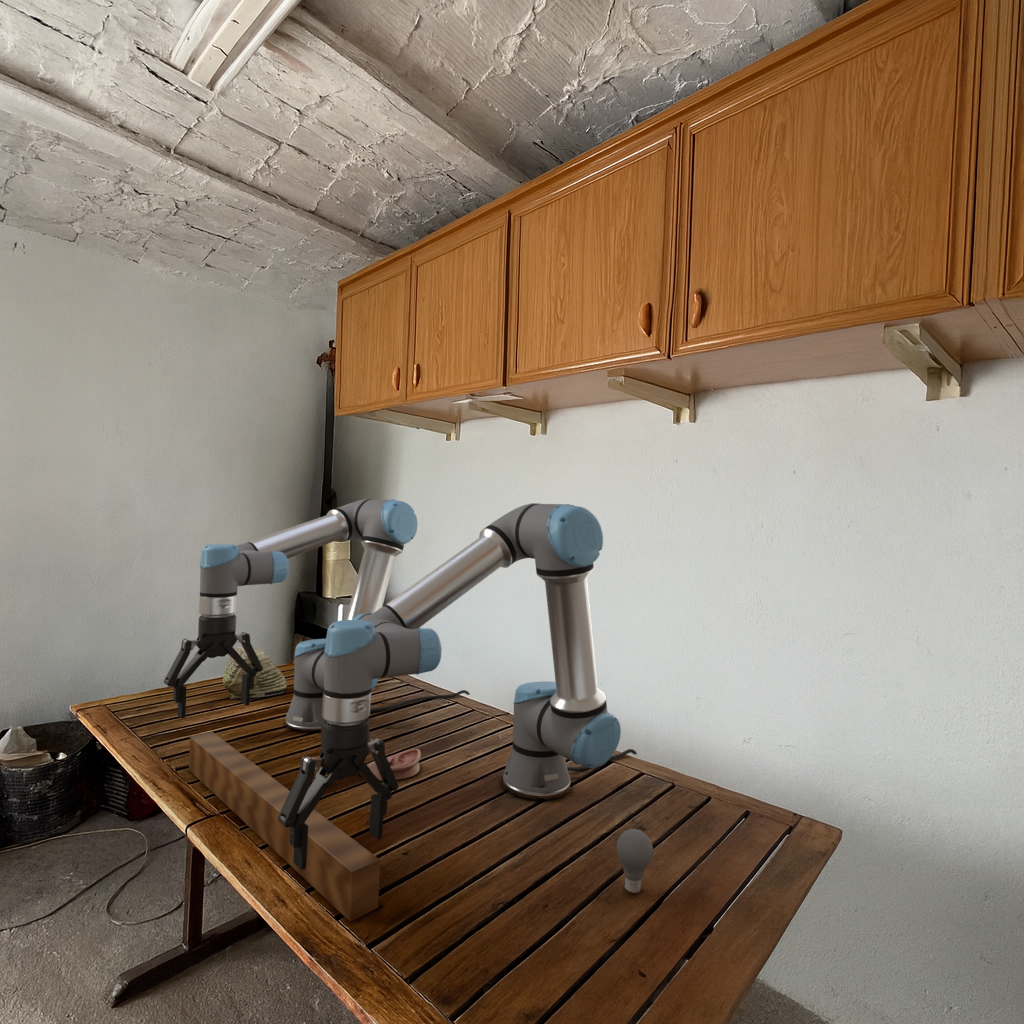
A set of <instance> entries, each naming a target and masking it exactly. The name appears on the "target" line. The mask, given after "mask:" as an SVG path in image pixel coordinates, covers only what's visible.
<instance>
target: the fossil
mask: <svg viewBox="0 0 1024 1024" xmlns="http://www.w3.org/2000/svg"><path fill="white" fill-rule="evenodd" d="M253 649H254V651H255V653H256V655H257V657H258V659H259V661H260V663H261V665H262V667H263V670H262V671H261V672H257V674H256V676H254V687H253V689H250V699H251V698H264V697H271V696H275V695H281V694H284V693H285V691H286V689H287V687H288V686H287V680H286V678H285V676H284V674H283V673H282V672H281V669H279V668H278V667H277V665H276V663H275V662H274V660H273V659H272V658H271V657H270V656H269V655H268V654H267V653H266V652H265V650H264V649H263V648H260V647H258V648H253ZM235 650H236V651H237V652H238V654H239V655H240V656H241V657H242V658H243V659H244V660H245V661H246V663H247V664H248V665H249V666H250V667H253V666H252V664H251V662H250V660H249V658H248V656H247V654H246V652H245V650H244V648H243V646H238V647H237V648H236V649H235ZM243 674H246V672H245V671H244V670H243V669H242V668H241V667H240V666H239V665H238V664H237V663H236V662H235V661H234V660H233V659H232V657H231V656H229V659H228V660H227V663H226V666H225V668H224V671H223V675H222V676H223V677H222V685H223V687H224V688H225V690H226V691H228V693H229V698H230V699H241V693H242V675H243Z"/></svg>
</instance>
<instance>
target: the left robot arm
mask: <svg viewBox="0 0 1024 1024" xmlns="http://www.w3.org/2000/svg"><path fill="white" fill-rule="evenodd" d="M418 525H419V523H418V518H417V514H416V513H415V510H414V508H413V507H412V506H411V505H410V504H408V503H407V502H405V501H402V500H396V499H378V498H377V499H375V498H365V499H364V498H363V499H360V500H356V501H352V502H350V503H347V504H344V505H342V506H339V507H336V508H333V509H330V510H329V511H328V512H327V513H326V515H323V516H320V517H317V518H315V519H311V520H308V521H305V522H303V523H300V524H297V525H294V526H291V527H287V528H285V529H282V530H279V531H276V532H273V533H269V534H268V535H263V536H262V537H259V538H255V539H253V540H249V541H246V542H244V543H240V544H231V543H212V544H206V545H204V546H203V547H202V549H201V555H200V564H199V567H200V569H199V570H200V573H199V575H200V576H199V599H198V600H199V601H198V613H199V614H200V615H199V617H198V625H197V626H198V629H197V633H198V634H197V638H196V639H187V638H183V639H182V640H181V645H180V650H179V652H178V654H177V655H176V657H175V659H174V661H173V663H172V665H171V667H170V668H169V670H168V672H167V674H166V676H165V677H164V680H163V684H165V685H166V686H168V687H172V688H173V695H172V696H173V698H172V700H173V702H174V703H176V704H177V713H176V714H177V716H178V717H179V718H180V719H186V716H187V715H186V714H187V686H185V684H186V683H187V681H188V680H189V679H190V678H191V677H192V675H193V674H194V673H195V672H196V670H198V668H199V667H200V666H201V664H202V663H204V662H205V661H206V660H207V658H209V659H215V658H217V657H222V658H223V657H226V656H227V655H229V657H232V659H233V660H234V661H235V662H236V663H237V664H238V665H239V666H240V667H241V668H242V669H243V670H244V671H245V672H246V674H243V675H242V693H241V698H240V703H241V704H242V705H243V706H245V707H246V706H250V701H251V700H250V699H251V698H250V689H253V687H254V676H256V674H257V672H261V671H262V670H263V667H262V665H261V663H260V661H259V659H258V657H257V655H256V653H255V651H254V649H255V648H254V647H253V645H252V643H251V635H250V633H248V632H245V631H241V632H240V633H239V634H236V630H237V615H236V614H235V613H236V612H237V603H238V602H237V601H238V588H239V587H244V586H254V585H255V586H256V585H272V584H279V583H282V582H284V581H285V580H286V579H287V577H288V576H289V572H290V562H289V559H291V558H294V557H295V556H299V555H301V554H304V553H306V552H309V551H313V550H315V549H318V548H320V547H323V546H325V545H328V544H331V543H333V542H338V543H345V542H346V541H349V540H356V539H357V540H358V539H359V540H360V543H361V546H362V547H363V549H364V551H363V553H362V558H361V562H360V565H359V569H358V572H357V577H356V581H355V584H354V587H353V591H352V594H351V598H350V602H349V606H348V609H347V613H346V616H345V620H352V619H353V618H354V617H355V616H357V615H359V614H363V613H372V614H373V613H374V612H376V611H377V610H378V609H380V608H381V607H383V606H384V602H385V598H386V595H387V591H388V587H389V582H390V579H391V575H392V571H393V568H394V563H395V560H396V557H397V556H400V554H402V553H403V551H404V547H405V544H408V543H410V542H411V541H412V540H414V538H415V537H416V534H417V532H418V527H419V526H418ZM237 642H238V643H240V644H241V647H243V648H244V650H245V652H246V654H247V656H248V658H249V660H250V662H251V664H252V666H253V667H250V666H249V665H248V664H247V663H246V661H245V660H244V659H243V658H242V657H241V656H240V655H239V654H238V652H237V651H236V649H235V648H234V646H235V645H236V643H237ZM325 645H326V638H317V639H308V640H304V641H300V642H299V643H297V645H296V646H295V650H294V655H293V657H294V672H293V673H294V674H293V695H292V696H293V697H292V699H291V702H290V704H289V708H288V711H287V713H286V715H285V726H286V728H287V729H289V730H291V731H294V732H295V731H296V732H301V733H316V732H321V726H322V721H323V720H324V718H323V717H322V706H323V692H324V670H325V654H324V650H325ZM195 647H197V648H198V650H197V651H196V652H195V654H194V656H193V657H192V659H191V660H190V661H189V662H188V663H187V664H186V662H187V660H188V657H189V656H190V654H191V651H193V650H194V649H195ZM185 664H186V666H185ZM184 666H185V667H184ZM183 667H184V668H183ZM379 679H380V678H378V679H373V680H372V691H373V690H374V689H375V687H376V686H377V684H378V682H379ZM462 694H466V695H467V696H469V695H471V693H470V692H469V691H468V690H465V689H462V690H460V691H457V692H455V693H451V694H438V695H437V694H436V695H427V696H421V697H420V696H419V697H415V698H411V699H407V700H403V701H400V702H398V703H395V704H392V705H387V706H381V707H375V708H370V713H375V712H381V711H386V710H390V709H391V710H392V709H396V708H398V707H402V706H404V705H406V704H407V705H408V704H410V703H415V702H420V701H427V700H433V699H435V700H436V699H449V698H455V697H458V696H459V695H462Z"/></svg>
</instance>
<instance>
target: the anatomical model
mask: <svg viewBox="0 0 1024 1024" xmlns="http://www.w3.org/2000/svg"><path fill="white" fill-rule="evenodd" d="M421 756H422V754H421V750H420V749H419V748H412V749H408V750H404V751H402V752H398V753H396V754H393V755H391V756H388V757H387V760H388V762H389V764H390V767H391V769H392V771H393V774H394V776H395V778H396V781H397V780H403V779H407V778H410V777H413V776H415V775H417V774H418V773H419V771H420V768H421V766H420V763H419V762H420V760H421ZM366 765H367V766H368V767H369V768H370V769H371V771H372V772H373V774H374V775H375V776H376V777H377V778H378V779H379V780H380V782H383V780H382V777H381V775H380V773H379V770H378V768H377V766H376V763H375V761H374V760H373V761H371V762H369V763H367V764H366Z"/></svg>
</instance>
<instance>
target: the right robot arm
mask: <svg viewBox="0 0 1024 1024" xmlns="http://www.w3.org/2000/svg"><path fill="white" fill-rule="evenodd" d="M603 546H604V534H603V530H602V525H601V523H600V522H599V519H598V518H597V517H596V515H595V514H594V513H593V512H592V511H590V509H587V508H585V507H582V506H578V505H574V504H569V503H539V502H538V503H537V502H536V503H535V502H534V503H527V504H523V505H520V506H518V507H516V508H514V509H511V511H508V512H506V513H505V514H503V515H502V516H500V517H498V518H497V519H496V520H494V521H493V522H491V523H490V524H488V525H487V526H485V527H484V528H483V529H481V530H480V531H479V537H478V538H477V539H475V540H474V541H473V542H471V543H470V544H469V545H467V546H466V547H464V548H463V549H461V550H460V551H458V552H457V553H456V554H454V555H453V556H452V557H450V558H449V559H447V560H446V561H444V562H443V563H441V564H440V565H438V567H436V568H435V569H433V570H432V571H431V572H429V573H428V574H426V575H425V576H423V577H422V578H421V579H419V580H418V581H417V582H415V583H414V584H412V585H411V586H409V587H408V588H407V589H405V590H404V591H402V592H401V593H399V594H398V595H397V596H395V597H394V598H392V599H391V600H390V601H389V602H387V603H385V604H383V606H382V607H381V608H380V609H378V610H377V611H376V612H374V613H373V614H372V613H363V614H359V615H357V616H355V617H354V618H353V619H352V620H346V619H341V620H337V621H334V622H332V623H331V624H330V625H329V626H328V628H327V631H326V637H325V639H326V645H325V650H324V654H325V670H324V692H323V706H322V717H323V718H324V720H323V721H322V726H321V731H320V747H321V750H320V753H319V755H318V756H311V757H310V756H308V755H307V754H306V755H303V756H302V757H301V759H300V763H299V764H300V765H299V771H298V773H297V775H296V777H295V779H294V782H293V784H292V786H291V788H290V790H289V791H290V792H289V794H288V797H287V799H286V801H285V803H284V805H283V807H282V810H281V812H280V814H279V816H278V821H279V822H281V823H282V824H283V825H284V826H285V827H287V828H289V827H290V838H289V842H290V845H291V846H292V847H294V856H293V863H294V864H295V865H296V866H298V867H299V868H300V869H301V870H303V869H306V862H307V842H308V825H307V824H305V821H306V820H307V818H308V817H309V815H310V814H311V812H312V811H313V809H314V810H315V808H316V806H317V805H318V803H319V802H320V800H321V799H322V797H323V796H324V794H325V793H326V792H327V790H328V788H330V787H332V786H333V785H334V783H335V782H336V781H338V782H339V781H342V780H344V779H346V778H351V777H354V776H356V774H357V773H358V774H359V775H360V776H361V777H362V778H363V780H364V781H365V782H366V783H367V784H368V785H369V786H370V787H371V788H372V790H373V791H374V792H375V793H374V794H371V795H370V814H369V831H368V832H369V834H370V835H371V836H372V837H374V838H375V839H377V840H378V841H379V840H381V839H383V831H384V830H383V829H384V816H386V815H387V812H388V800H391V799H392V797H393V793H392V792H396V791H398V789H399V783H398V781H397V780H396V778H395V776H394V774H393V771H392V769H391V767H390V764H389V762H388V760H387V758H388V757H387V755H386V746H385V742H384V741H383V740H381V739H379V738H377V737H372V738H371V739H370V727H371V720H370V719H369V717H370V716H371V712H370V709H371V705H372V691H373V690H372V680H373V679H378V678H379V679H386V678H393V677H403V676H411V675H416V676H417V675H420V674H424V673H428V672H433V671H435V670H436V669H437V668H438V667H439V665H440V663H441V659H442V649H443V648H442V643H441V639H440V637H439V635H438V633H437V632H436V631H435V630H434V629H432V628H427V627H426V628H425V627H424V628H423V626H424V625H425V624H427V623H428V622H429V621H430V620H431V619H433V618H435V617H436V616H437V615H438V614H440V613H441V612H442V611H444V610H445V609H447V608H448V607H450V606H451V605H452V604H453V603H454V602H456V601H457V600H459V599H460V598H461V597H462V596H464V595H465V594H467V593H468V592H469V591H470V590H472V589H473V588H474V587H476V586H477V585H478V584H480V583H481V582H482V581H484V580H486V579H487V578H488V577H489V576H490V575H492V574H493V573H494V572H496V571H497V570H499V569H500V568H504V569H508V568H509V567H511V566H512V565H513V564H514V563H516V562H518V561H521V560H524V559H525V560H526V559H534V563H535V573H536V576H538V577H539V578H540V579H541V580H542V581H543V582H544V586H545V595H546V604H547V605H546V606H547V614H548V623H549V624H548V625H549V632H550V644H551V652H552V653H551V654H552V662H553V672H554V681H546V680H545V681H531V682H526V683H523V684H520V685H518V686H517V688H516V689H515V692H514V700H513V720H512V721H513V722H512V724H513V725H512V748H511V752H510V754H509V758H508V760H507V763H506V766H505V769H504V771H503V774H502V786H503V787H504V789H505V791H507V792H509V793H510V794H511V795H513V796H516V797H518V798H522V799H527V800H532V801H549V800H550V801H551V800H555V799H559V798H562V797H563V796H566V794H568V793H569V792H570V789H571V776H570V773H569V771H570V772H581V771H584V770H588V769H596V768H599V767H602V766H603V765H604V764H606V763H607V762H608V761H612V760H616V759H619V758H623V757H624V756H626V755H628V754H630V753H631V754H633V755H637V754H638V752H637V751H636V750H635V749H633V748H629V749H626V750H623V751H622V752H620V753H617V754H615V751H616V750H617V749H618V746H619V743H620V741H621V736H622V735H621V734H622V728H621V723H620V720H619V719H618V718H617V716H615V715H614V714H613V713H611V712H608V707H607V706H608V705H607V704H608V703H607V697H606V693H605V692H604V691H602V690H601V689H600V688H598V687H599V686H598V678H597V667H596V666H597V665H596V657H595V655H596V654H595V646H594V644H595V643H594V634H593V626H592V615H591V604H590V594H589V584H588V583H589V582H588V578H589V576H590V575H591V573H592V572H593V571H594V569H595V567H594V563H595V562H596V561H597V560H598V558H599V557H600V555H601V553H600V551H602V550H603ZM421 627H422V628H421ZM379 679H378V680H379ZM369 754H371V756H372V759H373V762H374V761H375V763H376V766H377V768H378V770H379V773H380V775H381V777H382V780H383V781H380V780H379V779H378V778H377V777H376V776H375V775H374V774H373V772H372V771H371V769H370V768H369V767H368V766H367V764H366V762H365V760H366V758H367V757H368V755H369ZM566 760H569V761H571V762H572V763H574V764H575V765H578V766H567V761H566ZM579 765H580V766H579ZM318 768H319V769H318ZM315 773H316V774H315ZM326 775H327V777H326ZM314 776H315V777H314ZM314 778H315V779H314ZM382 782H383V783H382Z"/></svg>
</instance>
